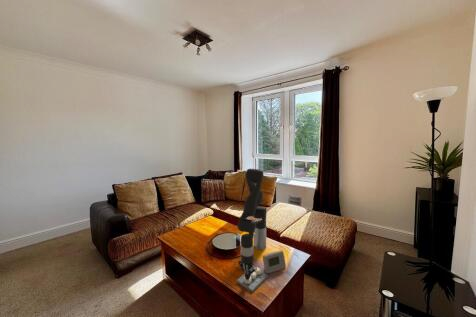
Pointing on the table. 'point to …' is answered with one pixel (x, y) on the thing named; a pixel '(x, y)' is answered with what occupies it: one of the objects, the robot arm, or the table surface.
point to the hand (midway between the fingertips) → (247, 278)
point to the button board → (255, 283)
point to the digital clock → (274, 261)
